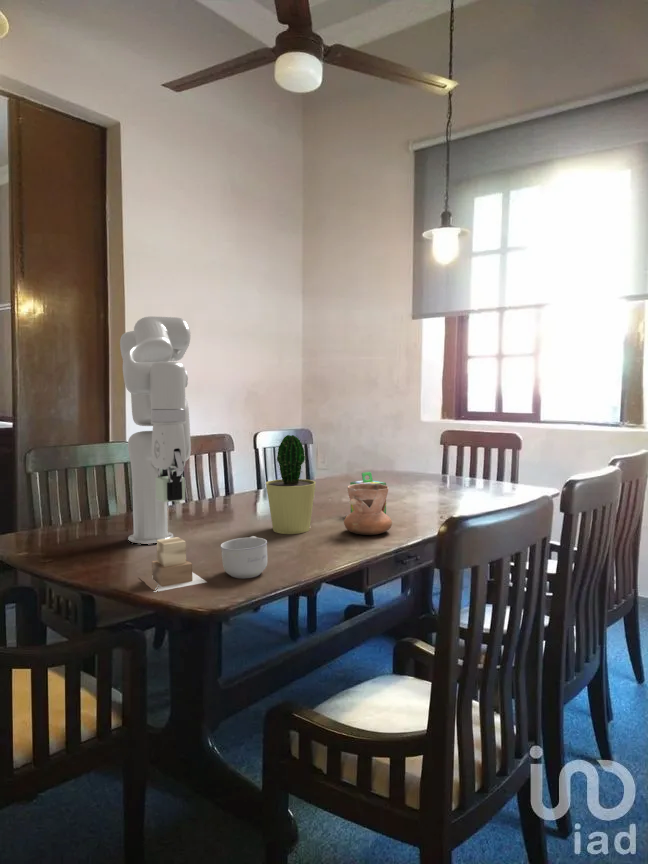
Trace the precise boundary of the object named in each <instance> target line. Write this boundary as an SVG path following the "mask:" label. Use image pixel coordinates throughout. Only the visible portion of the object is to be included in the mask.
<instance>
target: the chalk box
mask: <svg viewBox="0 0 648 864" xmlns="http://www.w3.org/2000/svg"><path fill="white" fill-rule="evenodd" d="M366 476H368V477H369V478H368V479H367V478H366ZM361 478H362V480H355V481H351V482H350V483H349V485H352V484H361V483H372V484H375V483H377V484H382V485H386V486H387V483H386V482H384V481H379V480H373V476H372V472H371V471H365V472H362V473H361ZM353 511H354V507H353V505H351V504H350V513H352V512H353ZM384 513H385V514H386V515H387V504H386V505H385V509H384Z"/></svg>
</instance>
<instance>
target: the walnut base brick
mask: <svg viewBox="0 0 648 864" xmlns="http://www.w3.org/2000/svg"><path fill="white" fill-rule="evenodd" d="M192 572H193V563H192V562H190V561H189V560H187V559H186V563H185V564H179V565H173V566H167V567H164V566H163V565H161V564H160V563H158V562H157V560H152V561H151V575H152V579H153V580H155V581H156V582H157V583H158V584H159V585H161V586H162V587H163V586H169V585H174V584H180V583H185V582H190V581H193V580H192Z"/></svg>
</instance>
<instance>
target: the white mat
mask: <svg viewBox="0 0 648 864" xmlns="http://www.w3.org/2000/svg"><path fill="white" fill-rule="evenodd" d="M192 580H193V581H190V582H185V583H180V584H174V585H169V586H163V587H162V586H161V585H159V584H158V585H157V587H156V588H155V590H156V589H157V588H158V589H157V590H156V591H153V592H154V593H157V591H158V592H163V591H168V590H173V589H178V588H184V587H189V586H195V585H199V584H200V585H201V584H205V583H207V581H206V580H205V579H203V578H202V577H201V576H199V575H198V574H196V573H195V572H193V571H192ZM156 583H157V582H156ZM158 586H159V587H158Z"/></svg>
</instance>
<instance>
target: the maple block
mask: <svg viewBox="0 0 648 864" xmlns="http://www.w3.org/2000/svg"><path fill="white" fill-rule="evenodd" d="M186 542H187V541H186V540H184V539H182V538H180V537H179V536H176V537H175V536H173V538H167V539H160V540H157V544H156V561H157V562H158V563H160V564H161V565H163V566H164V567H167V566H173V565H179V564H185V563H186V560H187V546H186V545H187V544H186Z"/></svg>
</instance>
